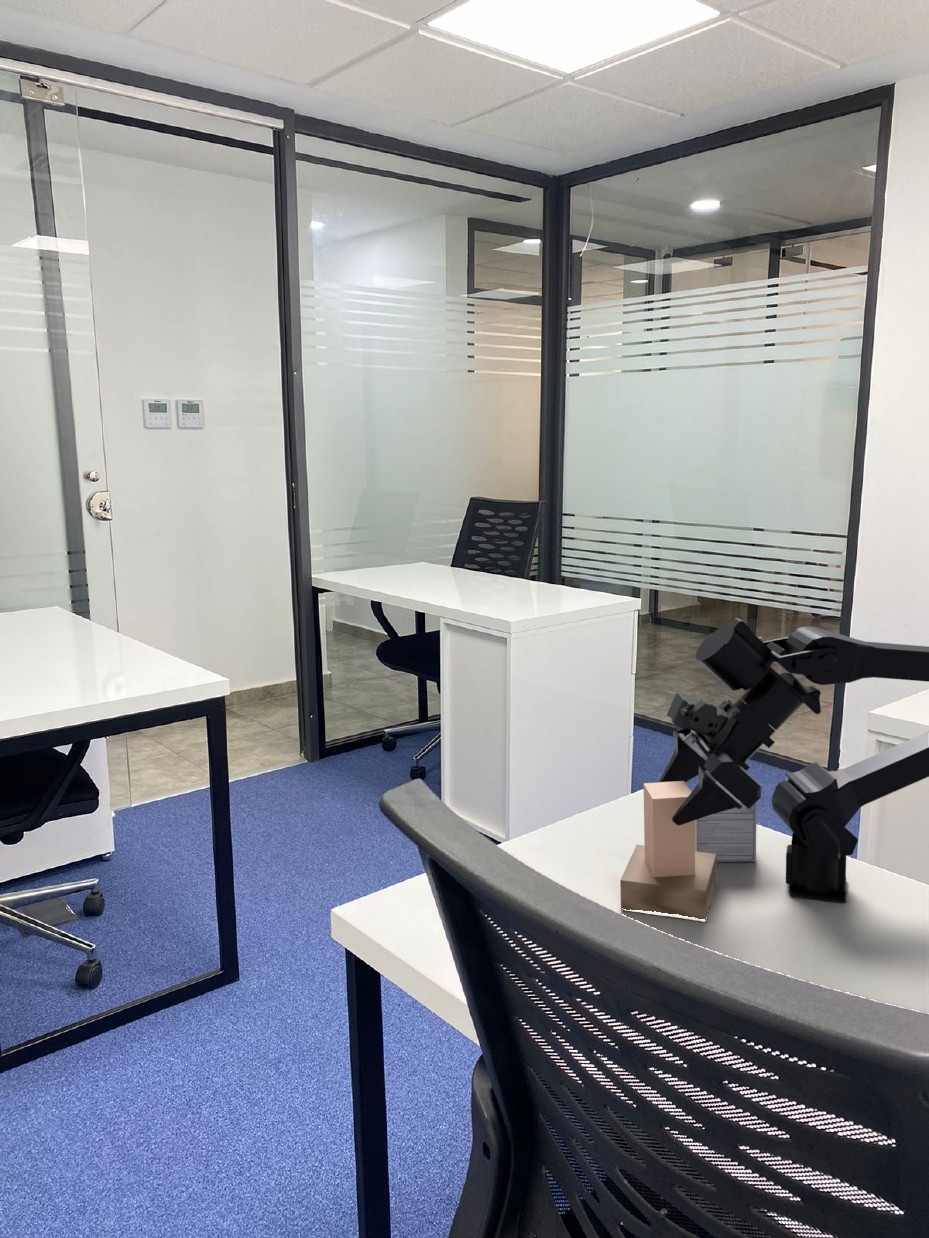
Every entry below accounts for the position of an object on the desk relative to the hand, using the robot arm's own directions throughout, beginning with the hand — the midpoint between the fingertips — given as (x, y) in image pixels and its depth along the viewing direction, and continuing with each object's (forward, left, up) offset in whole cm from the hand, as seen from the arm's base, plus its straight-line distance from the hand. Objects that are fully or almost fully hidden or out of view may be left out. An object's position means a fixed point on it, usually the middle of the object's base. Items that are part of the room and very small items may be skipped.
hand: (665, 806), depth 112 cm
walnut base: (0, 0, -12) cm, 12 cm away
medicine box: (-5, -13, -12) cm, 19 cm away
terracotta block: (0, 0, -8) cm, 8 cm away
